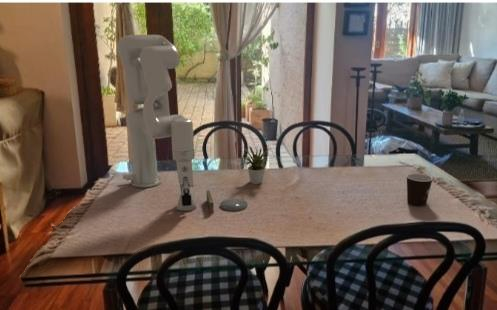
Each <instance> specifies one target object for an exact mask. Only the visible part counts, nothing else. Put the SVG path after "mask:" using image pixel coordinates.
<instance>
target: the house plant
mask: <svg viewBox="0 0 497 310" xmlns="http://www.w3.org/2000/svg"><path fill="white" fill-rule="evenodd" d="M258 147H259V144H258V145H257V147H256V149H255V150H256V151H255V152H254V150H253V148H252V146H251V145H249V146H248V148H249V150H248V149H247V148H246V147H244V146H240V148H243V149H244V152H243V154H244V155H245V156H246V157H244V158H243V160H244V162H245V166H248V165H249V166H248V167H247V171H248V176H249V182H250V183H251V184H254V185H260V184H262V183H263V182H264V176H265V175H264V174H265V169H266V168H265V165H266V162H267V161H268V160H269V159H270V157H269V158H267V157H264V156H265V155H266V153H267V152H268V151H269V150H270V149H272V147H271V148H270V147H269V148H267V149H266V150H265V151H264V152H263V153H262V148H259V150H258ZM249 151H250V153H251V154H250V153H249ZM245 152H246V153H245ZM263 157H264V158H263Z"/></svg>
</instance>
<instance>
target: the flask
mask: <svg viewBox="0 0 497 310" xmlns="http://www.w3.org/2000/svg"><path fill="white" fill-rule="evenodd" d="M183 181H184V180H183ZM183 186H184V185H183ZM183 190H184V189H183ZM190 194H191V205H189V206H182V189H181V188H180V194H179V198H178V202H177V204H176V210H178V211H182V212H187V211H189V212H190V211H192V210H194V209H196V208H197V204H196V201H195V199H194V197H193V195H192V193H191V191H190Z"/></svg>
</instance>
